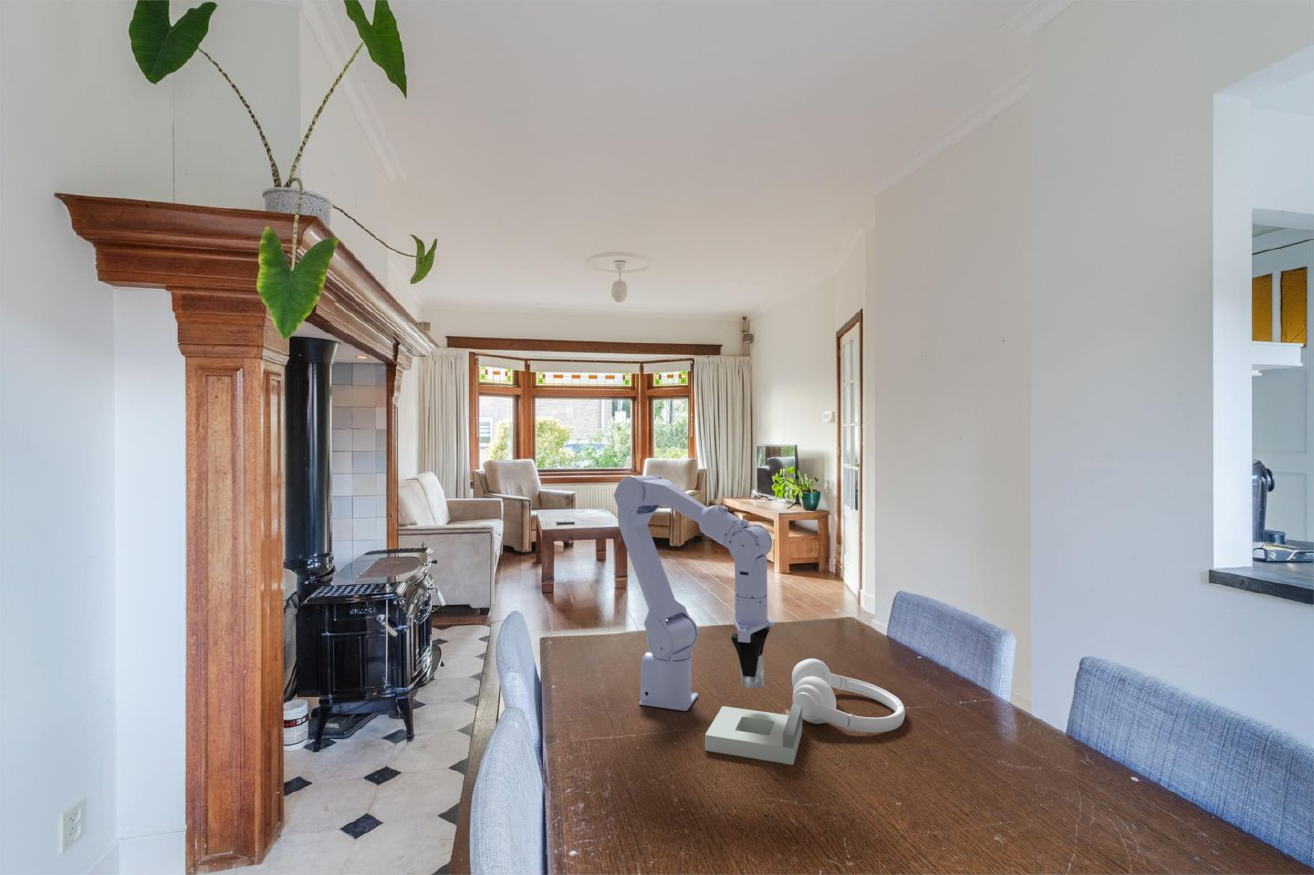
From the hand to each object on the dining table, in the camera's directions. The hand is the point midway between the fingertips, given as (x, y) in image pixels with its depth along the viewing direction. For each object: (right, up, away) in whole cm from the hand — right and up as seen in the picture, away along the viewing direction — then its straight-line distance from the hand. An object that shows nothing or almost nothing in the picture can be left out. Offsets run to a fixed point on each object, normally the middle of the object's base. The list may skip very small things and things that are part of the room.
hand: (751, 671), depth 112 cm
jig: (0, -9, -7) cm, 11 cm away
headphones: (+18, -10, +4) cm, 21 cm away
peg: (0, -2, 0) cm, 2 cm away
